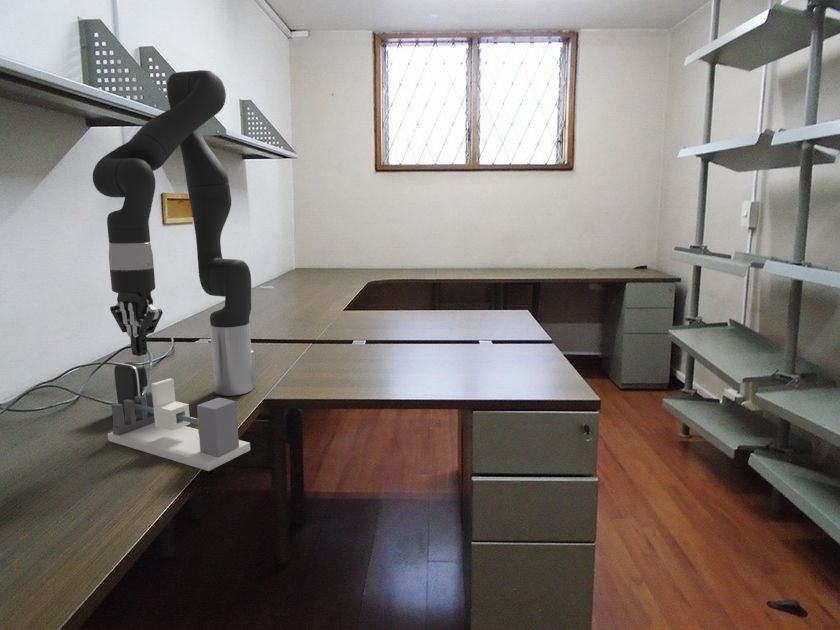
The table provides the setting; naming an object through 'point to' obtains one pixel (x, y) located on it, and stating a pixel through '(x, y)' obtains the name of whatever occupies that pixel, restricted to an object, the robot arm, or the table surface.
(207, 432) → the cable jig
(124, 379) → the battery charger
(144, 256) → the robot arm
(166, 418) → the sleeve
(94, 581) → the table surface
